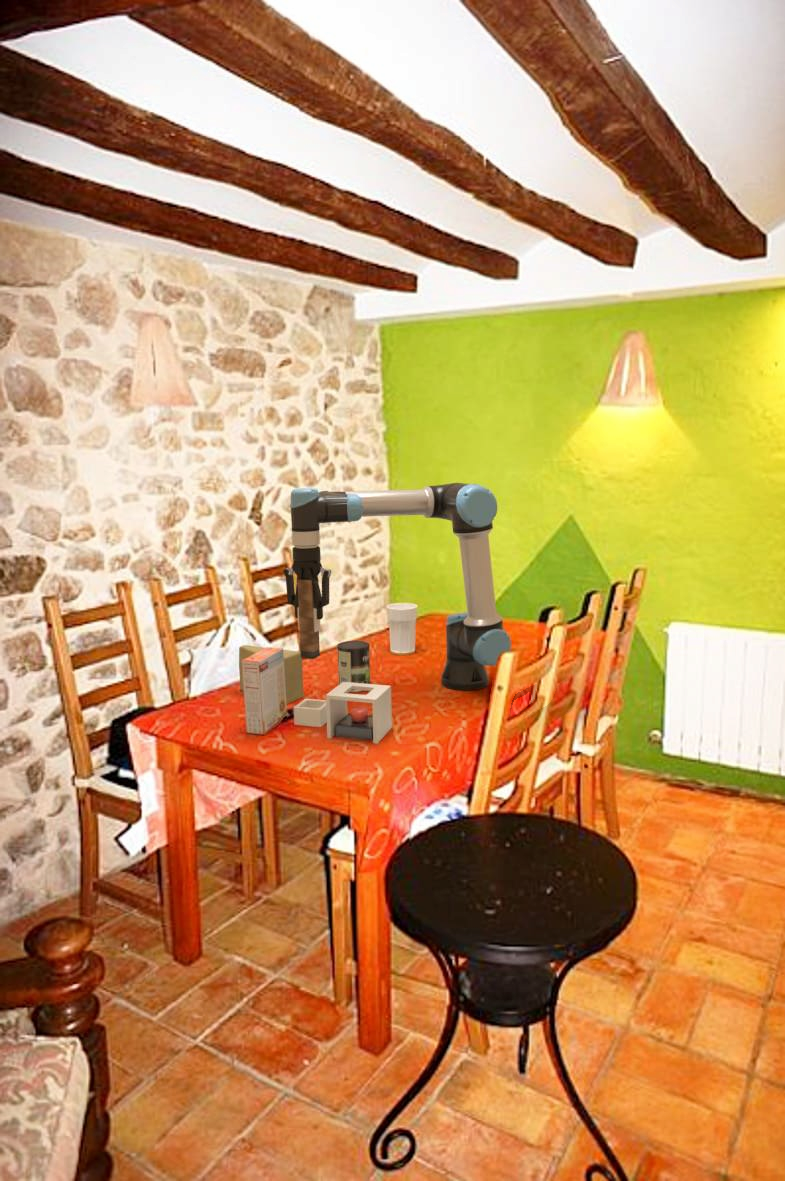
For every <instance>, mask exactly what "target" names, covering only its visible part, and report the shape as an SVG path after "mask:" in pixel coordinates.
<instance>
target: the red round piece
mask: <svg viewBox="0 0 785 1181" xmlns="http://www.w3.org/2000/svg"><path fill="white" fill-rule="evenodd" d="M350 714H351V720H352V721H356V722H358V723H364V722H363V721H366V720H368V715H369V709H368V708H367V707H365V706H357V707H356V706H355V707H353V708H351V709H350Z"/></svg>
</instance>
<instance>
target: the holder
mask: <svg viewBox="0 0 785 1181" xmlns="http://www.w3.org/2000/svg"><path fill="white" fill-rule="evenodd" d="M293 720H294V721H293V723H294V725H296V726H303V727H315V728H322V727H323V726H324V725H325V724H327V712H326V699H314V698H304V699H303V700H301V701H300V702H299V703H297V704H296V705H295V706H294V707H293Z"/></svg>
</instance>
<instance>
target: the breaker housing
mask: <svg viewBox="0 0 785 1181" xmlns="http://www.w3.org/2000/svg"><path fill="white" fill-rule="evenodd" d="M363 722H364V723H358V722H356V721H352V720H351V712H350V713H347V715H346V716H345V717H344V718H343V719H342V720H341V721H340V722H338V723H337V724H336V734H335V735H336V738H341V739H343V738H344V739H351V740H361V741H370V742H373V715H369V714H368V720H366V721H363Z"/></svg>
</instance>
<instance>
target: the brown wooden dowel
mask: <svg viewBox="0 0 785 1181" xmlns="http://www.w3.org/2000/svg"><path fill="white" fill-rule="evenodd" d="M314 580H316V579H314ZM298 603H299V628H300V631H299V643H300V644H299V647H300V648H299V650H300V651H299V652H300V653H301V658H302V659H305V660H306V659H307V660H315V659H317V658H318V657H320V655H321V649H320V647H321V646H320V630H319V631H317V632H314V615H313V608H315V607H316V605H315V601H314V597H313V584H312V580H309V579H301V580H299V579H298Z"/></svg>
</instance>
